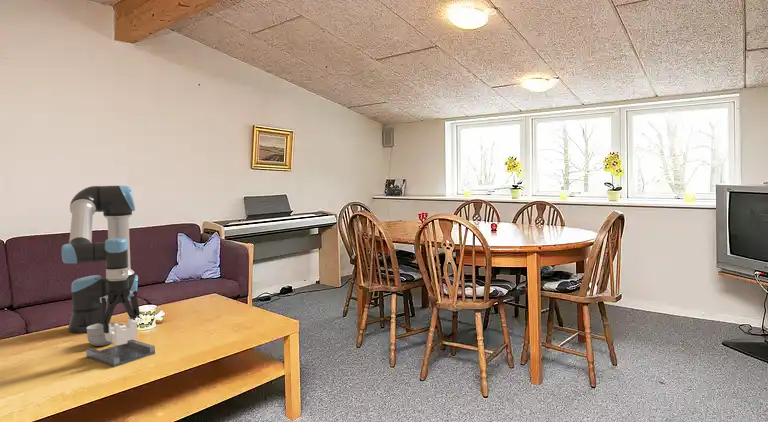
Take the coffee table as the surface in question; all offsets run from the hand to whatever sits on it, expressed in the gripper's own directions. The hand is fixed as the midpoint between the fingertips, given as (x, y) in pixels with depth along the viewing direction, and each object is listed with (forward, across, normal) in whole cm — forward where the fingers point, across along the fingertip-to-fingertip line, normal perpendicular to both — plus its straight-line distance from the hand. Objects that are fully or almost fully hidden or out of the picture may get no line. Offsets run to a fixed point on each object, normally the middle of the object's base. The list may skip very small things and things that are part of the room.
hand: (120, 337), depth 189 cm
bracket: (+1, 0, -1) cm, 1 cm away
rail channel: (+7, 0, 0) cm, 7 cm away
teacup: (+7, +5, +19) cm, 21 cm away
